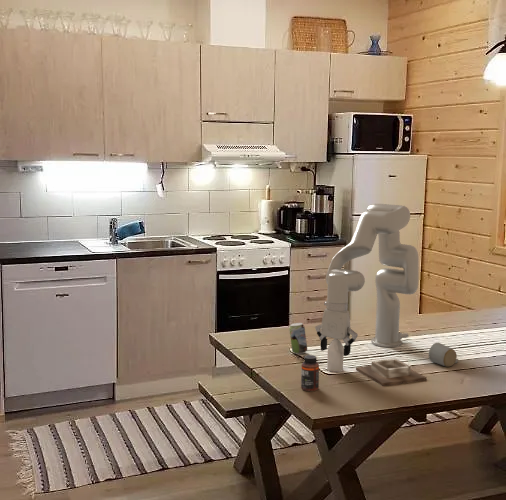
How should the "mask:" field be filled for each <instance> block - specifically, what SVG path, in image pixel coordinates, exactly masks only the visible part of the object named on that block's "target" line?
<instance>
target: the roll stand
mask: <svg viewBox="0 0 506 500" xmlns="http://www.w3.org/2000/svg"><path fill="white" fill-rule="evenodd" d="M355 370H356V371H357V372H358V373H360V374H362V375H363V376H365V377H367V378H368V379H371V380H372V381H373V382H375V383H378V385H380V386H384V387H385V386H391V385H392V386H393V385H400V384H406V383H407V384H408V383H414V382H420V381H427V376H425V375H424V374H422V373H419V372H417V371H415V370H414V369H412V368H411V366H410V365H409V364H406V363H404V362H402V361H401V360H399V359H397V358H388V359H380V360H373V361H371V365H363V366H356V367H355Z"/></svg>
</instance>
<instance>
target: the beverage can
mask: <svg viewBox="0 0 506 500" xmlns="http://www.w3.org/2000/svg"><path fill="white" fill-rule="evenodd" d="M288 331H289V338H290V345H291V352H292V353H294V354H295V355H301V354H305V353H306V352H307V351H308V342H307V335H306V329H305V325H304V323H303V322H296V323H295V322H294V323H291V324H290V325H289V329H288Z"/></svg>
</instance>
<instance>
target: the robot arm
mask: <svg viewBox="0 0 506 500" xmlns="http://www.w3.org/2000/svg"><path fill="white" fill-rule="evenodd" d="M410 212H411V211H410V209H409V207H407V206H405V205H400V204H387V203H373V204H370V205H368V207H367V209H366V211H363V212H362V213H361V214H360V217H359V218H358V220H357V223H356V227H355V229H354V231H353V235H352V237H351V239H350V242H349V243H348V244H347V245H346V246H344V247H342V248H341V249H340V250H339V251H338V252H337V253H336V254H335V255H334V256H333V257H332V259H331V261H330V264H329V266H328V268H327V271H326V275H325V282H326V285H327V289H326V290H327V291H326V292H327V293H326V294H327V295H326V297H327V298H326V301H324V302H323V305H324V306H325V308H324V311H323V314H322V318H321V324H318V325H316V326H315V327H314V328H315V331H316V334H317V336H318V338H319V340H320V351H321V352H322V351H323V352H324V351H326V350H328V338H330V339H333V340H334V339H338V340H339V341H341V340H342V341H343V342H344V344H345V345H344V344H343V347H344V357H346V356H349V355H350V353H351V348H352V347H351V345H352V344H353V343H354V342H355V341H356V340H357V338H358V333H357V332H355V331H354V330H353V329H352V328H351V318H350V317H351V316H350V311H349V310H348V306H349V305H348V303H349V292H357V291H360V290H361V289H362V288H363V287H364V286H365V282H366V281H365V275H364V274H363V273H362V272H360V271H358V270H353V269H347V268H346V269H345V268H343V267H344V265H345V264H347V263H348V262H350V261H351V260H354V259H356V258H360V257H363V256H366V255H368V254H370V253H371V252H372V249H373V247H374V244H375V242H376V239H377V236H378V259H379V260H378V261H379V262H380V264H381V265H383V266H386V268H381V269H379V270H378V271H377V272H376V273H375V278H374V279H375V280H374V284H375V288H376V312H375V331H374V333H375V335H374V336H375V337H372V338H371V339H370V341H371V342H370V343H372V344H373V345H375V346H378V347H382V348H397V347H400V346H402V345H403V341H402V339H407V338H409V333H407V332H404V333H402V332H399V331H400V309H401V300H400V298H399V296H398V294H401V295H402V294H403V295H414V294H415V293H416V292H418V291H417V290H418V288H419V262H420V259H419V252H418V250H417V248H416V247H415V246H414V245H412V244H402V243H401V238H400V236H401V235H400V234H401V233H400V230H402V229H404V228H405V227H406V226H407V225H408V224H409V223H410V220H411V213H410ZM389 267H393V268H389ZM397 268H401V269H397ZM350 336H351V337H350Z"/></svg>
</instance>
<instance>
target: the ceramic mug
mask: <svg viewBox="0 0 506 500" xmlns="http://www.w3.org/2000/svg"><path fill="white" fill-rule="evenodd" d="M428 359H429V360H430V362H432V363H435V364H437V365H440V366H442V367H447V368H449V367H452V366H453V365H454V364H458V362H459V358H458V359H457V352H456V350H454V349H453V348H452V347H450V346H447V345H445V344H443V343H441V342H435V343H433V344H432V345H431V346H430V348H429V351H428Z"/></svg>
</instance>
